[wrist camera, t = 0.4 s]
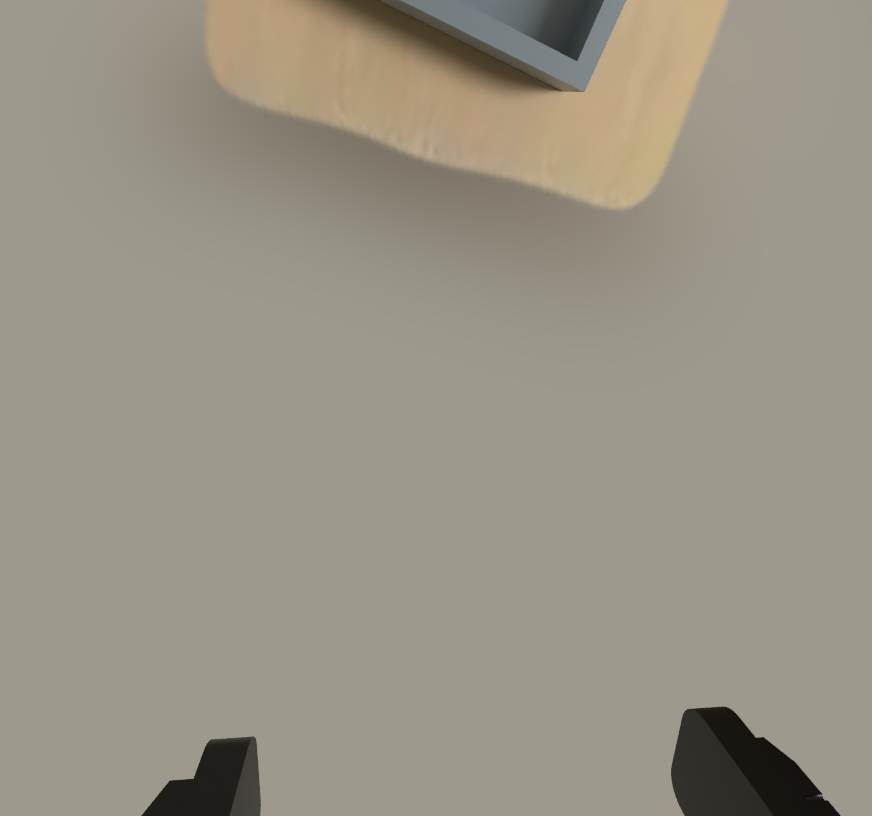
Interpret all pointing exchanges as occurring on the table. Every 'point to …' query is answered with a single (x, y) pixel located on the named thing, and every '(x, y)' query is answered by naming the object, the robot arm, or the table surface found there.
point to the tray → (527, 32)
